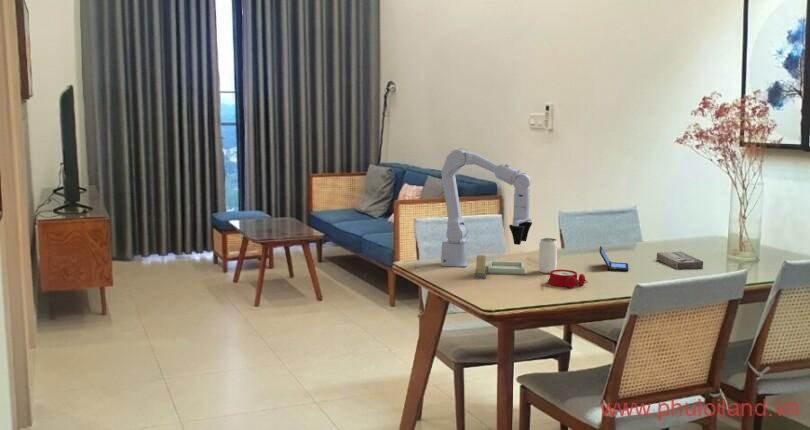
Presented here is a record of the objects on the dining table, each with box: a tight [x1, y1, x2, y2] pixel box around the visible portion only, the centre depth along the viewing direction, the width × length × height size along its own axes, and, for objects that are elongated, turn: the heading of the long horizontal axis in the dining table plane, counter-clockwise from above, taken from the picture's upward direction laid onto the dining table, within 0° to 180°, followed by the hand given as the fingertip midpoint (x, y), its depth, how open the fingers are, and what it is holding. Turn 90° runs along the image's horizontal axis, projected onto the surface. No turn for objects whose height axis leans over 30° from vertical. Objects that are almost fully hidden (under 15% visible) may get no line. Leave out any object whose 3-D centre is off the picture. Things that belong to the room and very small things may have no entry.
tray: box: [487, 260, 525, 276], centre depth 288 cm, size 13×13×2 cm
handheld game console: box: [599, 245, 630, 273], centre depth 293 cm, size 12×11×7 cm
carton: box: [475, 254, 487, 274], centre depth 279 cm, size 3×5×7 cm, turn 172°
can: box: [538, 237, 558, 274], centre depth 286 cm, size 6×6×12 cm
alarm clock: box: [542, 269, 589, 289], centre depth 267 cm, size 10×6×15 cm
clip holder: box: [473, 268, 488, 280], centre depth 279 cm, size 4×9×2 cm, turn 172°
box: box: [656, 251, 704, 270], centre depth 301 cm, size 11×17×3 cm, turn 9°
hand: (520, 242), depth 289 cm, fingers open, 7 cm apart
